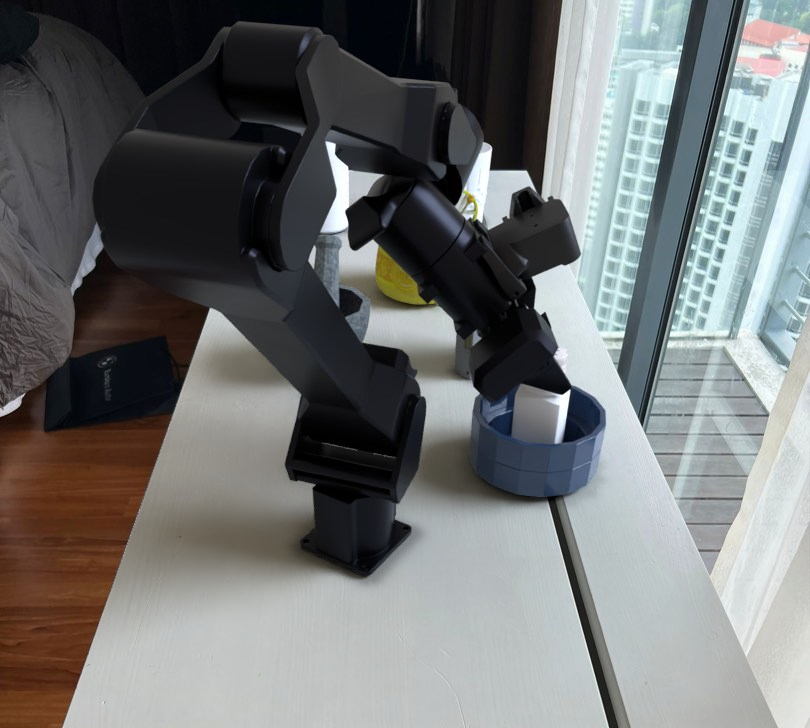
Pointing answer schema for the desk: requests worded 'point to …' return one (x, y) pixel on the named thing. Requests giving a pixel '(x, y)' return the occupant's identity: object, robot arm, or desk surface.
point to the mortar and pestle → (345, 297)
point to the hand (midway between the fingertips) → (563, 379)
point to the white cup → (478, 182)
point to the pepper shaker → (541, 411)
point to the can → (337, 195)
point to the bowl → (537, 447)
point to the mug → (396, 279)
